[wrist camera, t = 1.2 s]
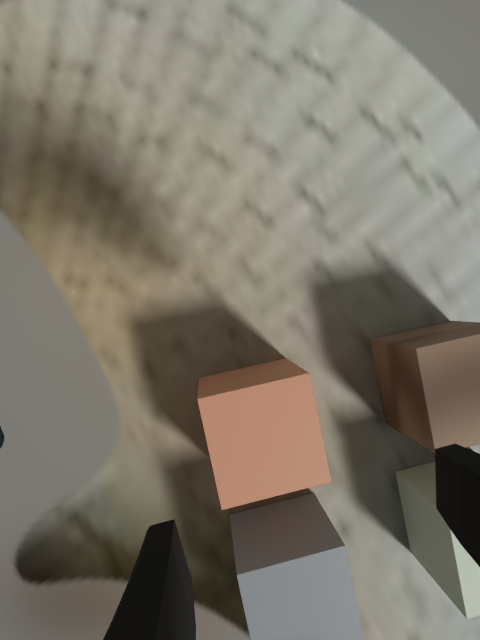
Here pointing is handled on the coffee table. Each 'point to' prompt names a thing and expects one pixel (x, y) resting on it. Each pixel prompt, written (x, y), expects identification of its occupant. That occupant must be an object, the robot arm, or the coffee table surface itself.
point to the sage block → (437, 540)
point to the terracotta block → (262, 432)
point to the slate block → (294, 573)
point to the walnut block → (431, 383)
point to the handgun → (1, 437)
